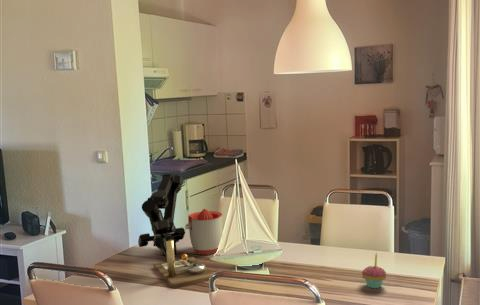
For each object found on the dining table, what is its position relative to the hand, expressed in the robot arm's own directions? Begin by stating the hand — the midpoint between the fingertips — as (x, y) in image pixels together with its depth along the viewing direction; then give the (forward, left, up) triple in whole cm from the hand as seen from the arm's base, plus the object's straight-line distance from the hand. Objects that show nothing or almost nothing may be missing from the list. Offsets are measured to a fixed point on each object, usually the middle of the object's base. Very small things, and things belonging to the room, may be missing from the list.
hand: (167, 255), depth 194 cm
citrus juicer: (-11, +30, -9) cm, 33 cm away
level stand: (+2, +6, -9) cm, 11 cm away
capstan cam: (+1, +6, -7) cm, 9 cm away
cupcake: (+69, +40, -9) cm, 80 cm away
